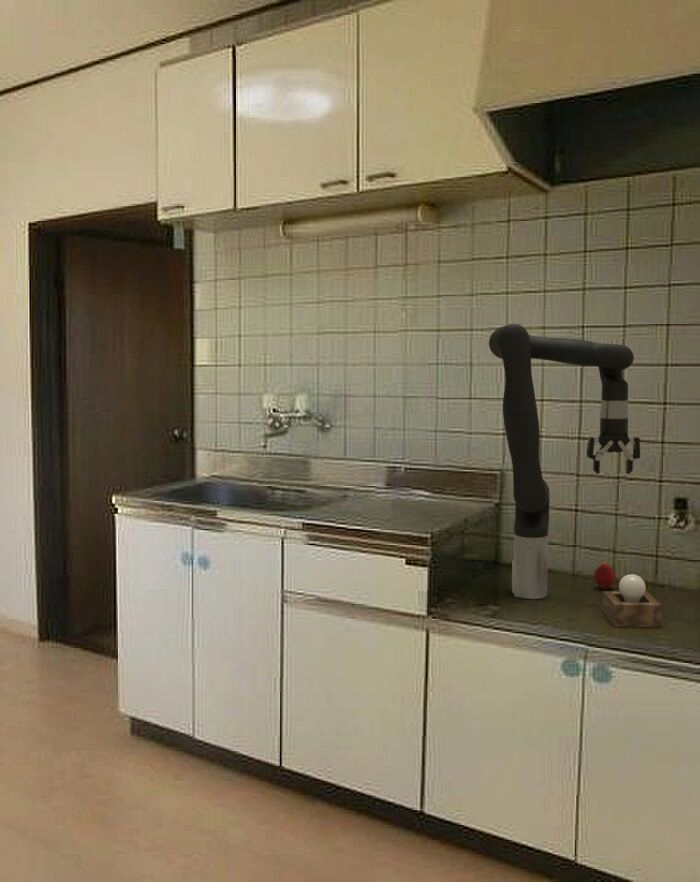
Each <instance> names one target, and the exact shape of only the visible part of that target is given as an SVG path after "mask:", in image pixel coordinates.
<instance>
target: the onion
mask: <svg viewBox="0 0 700 882" xmlns="http://www.w3.org/2000/svg"><path fill="white" fill-rule="evenodd" d="M593 577H594V582H595V583H596V584H597V586H598V587H600V588H601V589H602V590H607V589H609V588H610V587H611V586H613V584H615V582H616V573H615V570H614V569H613V568H612V567H611V566H610V565H609V563H608V562H607V561H604V562H603V563H602V564H601V565H599V566H597V568H596V569H595V571H594V575H593Z"/></svg>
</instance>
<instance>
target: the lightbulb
mask: <svg viewBox="0 0 700 882" xmlns="http://www.w3.org/2000/svg"><path fill="white" fill-rule="evenodd" d="M646 587H647V586H646V583H645V580H644V579H643V578H642V577H641V576H639V575H637V574H634V573H631V574H627V575H624V576H623V577H622V578H621V579H620V580H619V583H618V590H619V591H620V593H621V594H622V596H623V598H624V600H625V602H637V603H639V601H640V599H641V598H642V596H643V595H644V593H645V592H646V591H647V588H646Z"/></svg>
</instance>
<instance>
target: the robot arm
mask: <svg viewBox="0 0 700 882" xmlns="http://www.w3.org/2000/svg"><path fill="white" fill-rule="evenodd" d="M488 339H489V340H488V348H489V350H490V352H491V353H492V354H493V355H494V356H495V357H496V358H498V359H500V360H502V364H503V369H504V374H505V375H504V377H505V383H504V391H503V392H504V393H503V396H502V397H503V399H502V416H503V423H504V424H503V425H504V429H505V430H504V431H505V435H506V442H507V446H508V450H509V455H510V459H511V464H512V482H513V486H512V487H513V488H512V489H513V494H512V495H513V496H512V497H513V499H514V502H515V510H514V511H515V512H514V513H515V515H514V523H513V558H512V559H511V560H512V561H511V564H512V567H511V591H512V595H513V596H514V598H520V599H526V600H541V599H545V598H546V597H547V596H548V555H549V553H548V552H549V551H548V550H549V525H550V524H549V523H550V488H549V485H548V483H547V482H546V481H545V479H544V478H543V473H542V469H541V463H540V432H541V431H540V421H539V415H538V414H539V413H538V407H537V401H536V393H535V386H534V380H533V376H532V375H533V374H532V360H533V359H534V360H543V361H550V362H555V363H562V364H568V365H573V366H574V365H575V366H581V367H598V371H599V377H600V378H599V379H600V382H601V401H600V402H601V403H600V411H599V416H600V417H599V435H598V437H593V436H588V438H587V448H586V457H587V458H588V459H591V460H592V461H593V463H592V467H593V468H592V470H593V472H595V474H597V475H600V471H601V470H600V465H601V461H600V459H601V458H602V457H603V456H604V455H605V454H606V453H610V454H611V453H617V454H618V453H622V454H623V456H625V457H626V460H625V473H626V474H627V475H630V474H631V472H633V471H634V470H633V467H634V465H633V464H634V462H633V461H635V460H636V459H640V458H641V447H640V446H641V442H640V437H638V436H632V437H629V435H628V434H629V401H628V400H629V383H628V381H627V380H625V379H624V376H623V371H624V370H626V369H629V368H630V367H631V366H632V365H633V363H634V359H635V357H634V352H633V351H632V349H631V348H630V347H628V346H626V345H623V344H616V343H607V342H605V343H604V342H603V343H601V342H595V341H591V340H586V339H577V338H570V337H569V338H568V337H548V336H544V337H543V336H537V335H532V334H529V332H528V331H527V329H526V327H524V326H522V325H521V324H518V323H510V324H506V325H503V326H501V327H498V328H497V329H495V330H494V331H493V332H492V333H491V334H490V337H489V338H488ZM597 442H598V443H599V445H600V447H599V448H598V449H597V451H596V452H595V453H594V451H595V450H594V449H595V446H596V444H597ZM629 443H630V444H631V445H632V453H630V451H629V449H628V448H627V445H628V444H629Z"/></svg>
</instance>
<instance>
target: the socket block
mask: <svg viewBox="0 0 700 882" xmlns="http://www.w3.org/2000/svg"><path fill="white" fill-rule="evenodd" d="M602 597H603V598H602V599H603V600H602V602H603V603H602V612H603V615H605V616H606V618H607V619H608V620H609V621H610V623H611V624H612V625H613V626H614V628H615V627H627V628H628V627H629V628H634V627H635V628H662V611H663V609H662V608H663V605H662V604H661V603H660V602H659V601H658V600H657V599H656V598H655V597H653V595H651V594H650V593H649V592H648V591H645V593H644V595H643V596H642V598H641V599H640V601H639V603H637V602H625V600H624V598H623V596H622V594H621V593H620V590H619V591H607V590H606V591H605V590H603V595H602Z"/></svg>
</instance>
